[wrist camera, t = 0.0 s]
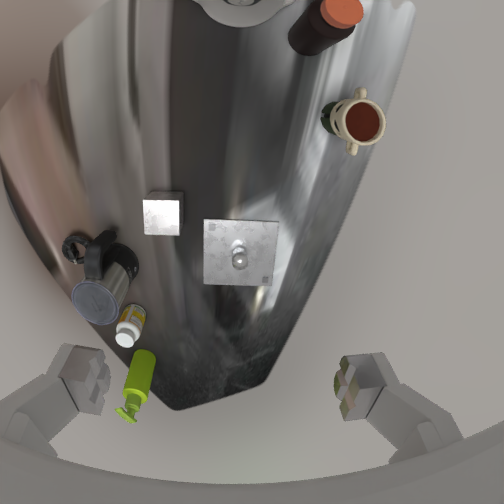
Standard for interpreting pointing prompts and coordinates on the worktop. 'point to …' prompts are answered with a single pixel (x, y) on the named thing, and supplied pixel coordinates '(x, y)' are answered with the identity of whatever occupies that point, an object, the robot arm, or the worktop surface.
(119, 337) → the supplement bottle
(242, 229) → the plate
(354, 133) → the character mug
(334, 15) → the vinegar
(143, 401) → the soap dispenser
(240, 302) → the worktop surface
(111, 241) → the milk frother
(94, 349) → the robot arm
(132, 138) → the worktop surface
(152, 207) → the chalk-like cube
